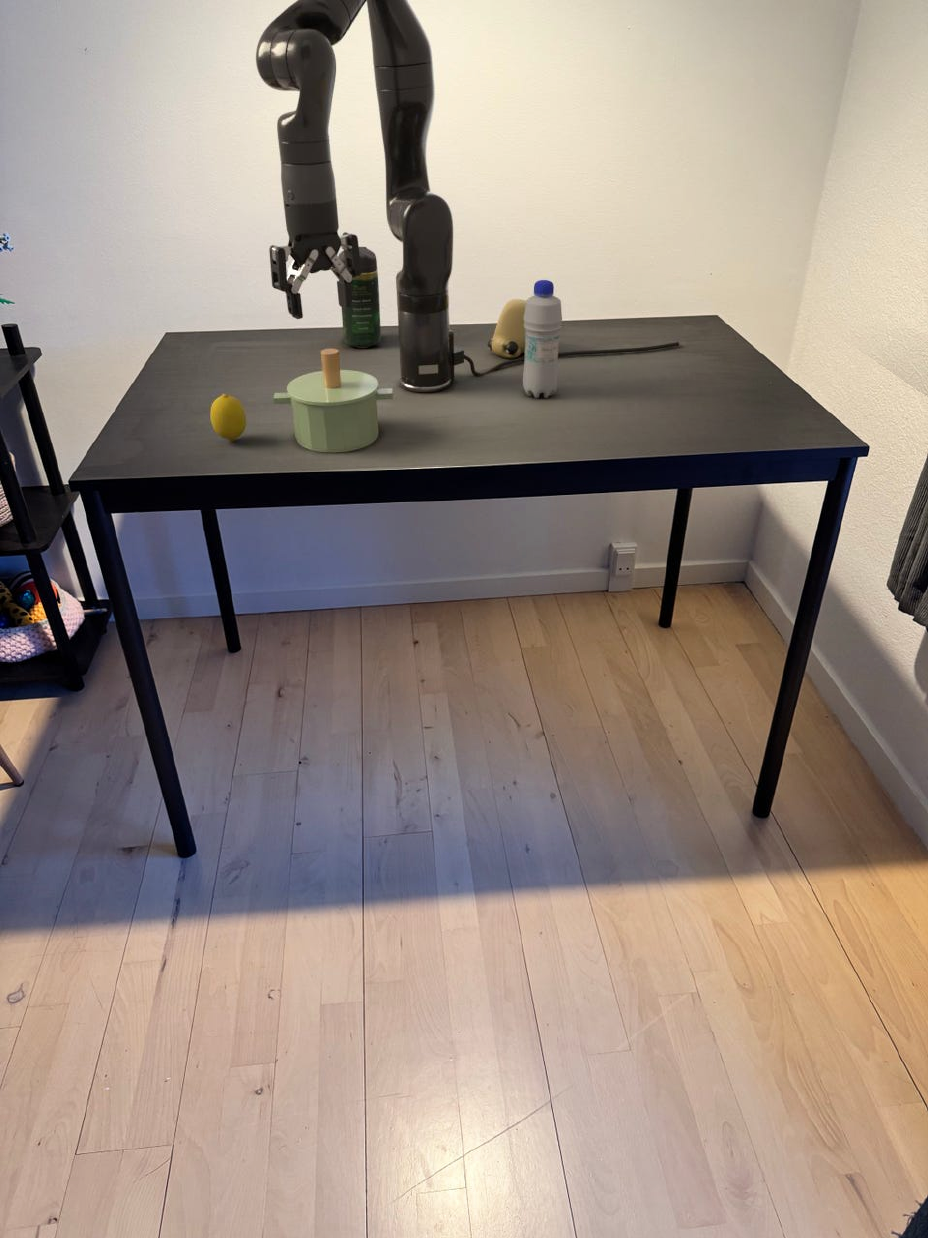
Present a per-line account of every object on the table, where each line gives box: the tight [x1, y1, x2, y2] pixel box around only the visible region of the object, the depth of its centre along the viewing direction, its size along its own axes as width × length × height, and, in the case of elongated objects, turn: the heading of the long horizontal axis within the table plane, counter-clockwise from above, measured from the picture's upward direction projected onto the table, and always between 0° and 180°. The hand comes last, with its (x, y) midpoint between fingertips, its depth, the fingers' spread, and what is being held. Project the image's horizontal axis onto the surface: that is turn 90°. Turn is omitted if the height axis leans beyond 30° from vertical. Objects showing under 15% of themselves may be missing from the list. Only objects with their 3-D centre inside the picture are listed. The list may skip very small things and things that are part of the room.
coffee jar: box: [337, 246, 382, 349], centre depth 182 cm, size 10×8×19 cm
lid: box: [286, 348, 380, 406], centre depth 141 cm, size 15×15×7 cm
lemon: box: [209, 393, 247, 442], centre depth 143 cm, size 6×6×8 cm
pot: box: [273, 387, 394, 454], centre depth 145 cm, size 14×19×8 cm
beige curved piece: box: [487, 298, 527, 359], centre depth 178 cm, size 10×12×11 cm
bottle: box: [522, 279, 563, 399], centre depth 156 cm, size 7×7×20 cm
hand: (321, 312), depth 136 cm, fingers open, 8 cm apart
